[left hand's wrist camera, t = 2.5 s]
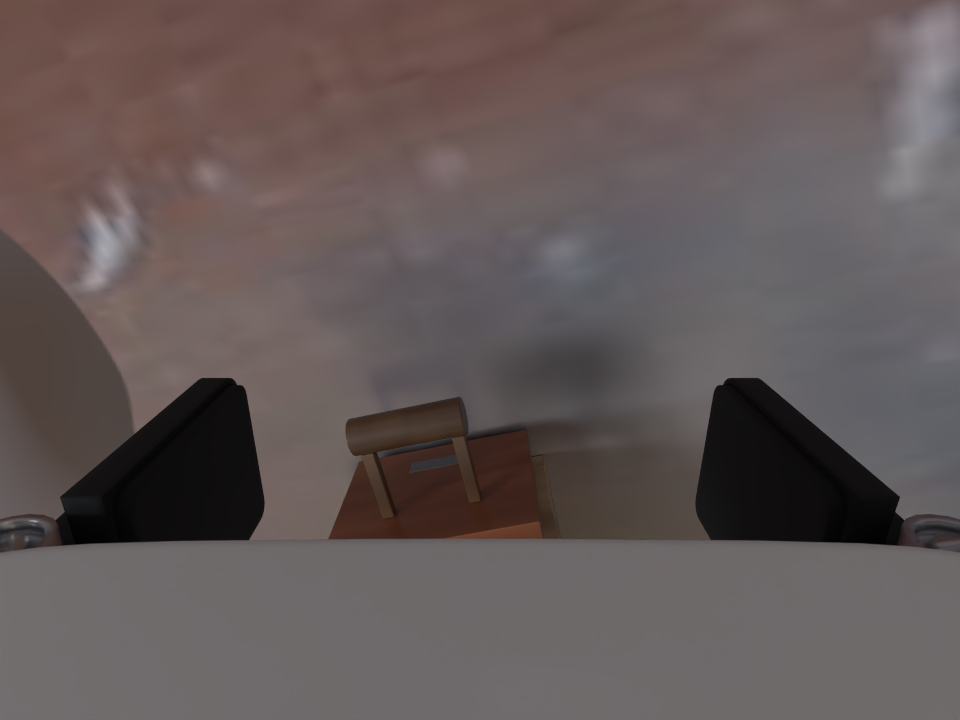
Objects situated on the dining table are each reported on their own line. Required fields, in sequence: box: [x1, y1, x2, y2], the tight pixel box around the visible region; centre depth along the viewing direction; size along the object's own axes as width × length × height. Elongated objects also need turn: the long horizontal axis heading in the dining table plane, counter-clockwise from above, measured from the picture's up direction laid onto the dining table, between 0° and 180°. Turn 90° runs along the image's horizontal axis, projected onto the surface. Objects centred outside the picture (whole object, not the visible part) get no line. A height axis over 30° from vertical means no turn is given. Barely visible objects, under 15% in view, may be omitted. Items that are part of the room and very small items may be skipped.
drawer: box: [329, 397, 544, 539], centre depth 31 cm, size 25×10×8 cm, turn 13°
